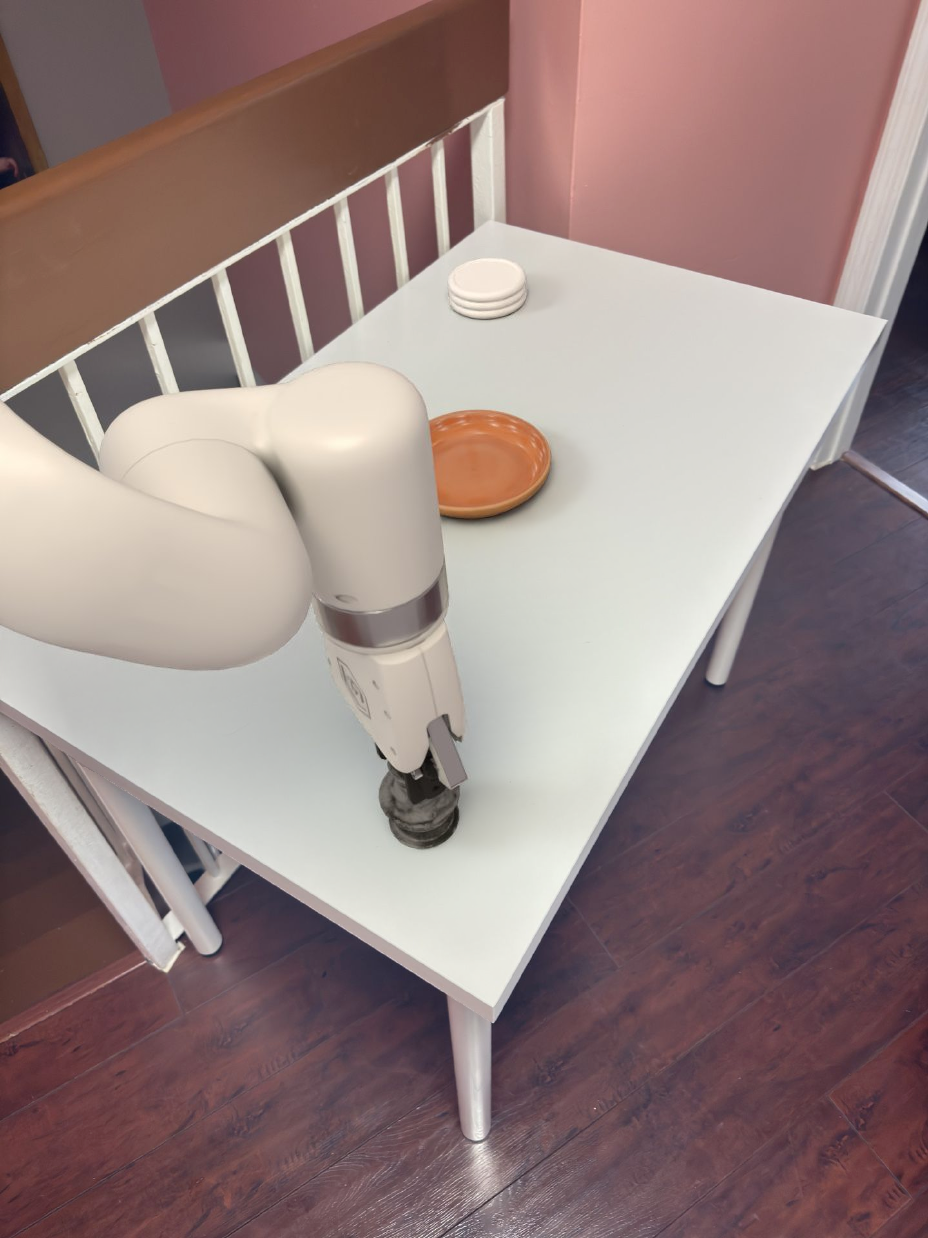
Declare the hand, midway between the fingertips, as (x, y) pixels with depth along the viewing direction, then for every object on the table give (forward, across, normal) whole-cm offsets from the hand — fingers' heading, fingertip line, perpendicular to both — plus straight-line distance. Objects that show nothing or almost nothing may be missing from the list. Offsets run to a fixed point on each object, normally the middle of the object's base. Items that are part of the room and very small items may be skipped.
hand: (414, 768), depth 63 cm
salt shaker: (+7, 0, 0) cm, 7 cm away
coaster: (+7, -60, +45) cm, 75 cm away
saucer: (+7, -31, +24) cm, 40 cm away
